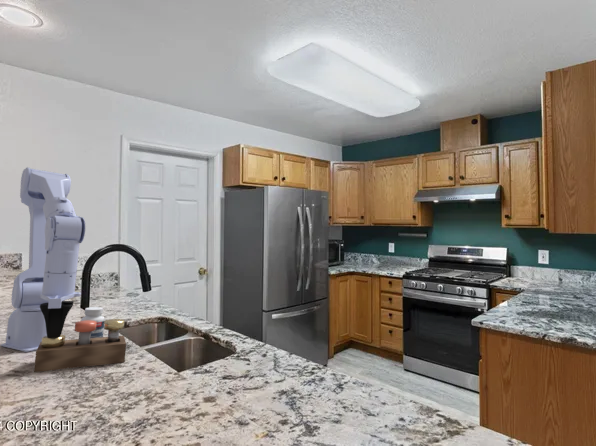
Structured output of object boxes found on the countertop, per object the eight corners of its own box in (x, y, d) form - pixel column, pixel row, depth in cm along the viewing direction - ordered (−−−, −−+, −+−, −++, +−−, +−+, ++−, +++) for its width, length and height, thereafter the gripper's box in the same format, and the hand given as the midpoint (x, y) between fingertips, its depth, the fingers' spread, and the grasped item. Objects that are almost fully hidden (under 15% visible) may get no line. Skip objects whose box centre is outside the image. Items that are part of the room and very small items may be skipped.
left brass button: (37, 367, 69) (40, 340, 69) (40, 361, 72) (43, 335, 72) (61, 365, 71) (64, 338, 71) (63, 359, 74) (66, 333, 75)
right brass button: (102, 348, 74) (104, 323, 75) (102, 343, 78) (104, 319, 78) (122, 346, 77) (125, 322, 77) (121, 341, 80) (123, 318, 80)
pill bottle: (91, 347, 84) (94, 311, 85) (73, 345, 85) (76, 309, 86) (107, 342, 89) (110, 307, 90) (90, 339, 90) (93, 305, 91)
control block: (33, 372, 67) (36, 351, 67) (38, 361, 73) (40, 342, 73) (124, 362, 75) (126, 343, 76) (122, 352, 81) (123, 335, 82)
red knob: (72, 351, 72) (74, 325, 72) (73, 345, 75) (75, 321, 75) (94, 349, 74) (96, 323, 74) (94, 344, 77) (96, 319, 78)
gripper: (81, 275, 69) (74, 344, 68) (83, 269, 81) (77, 328, 80) (38, 275, 65) (30, 348, 64) (47, 269, 77) (40, 330, 76)
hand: (53, 337), depth 72 cm, fingers closed, pressing on left brass button
